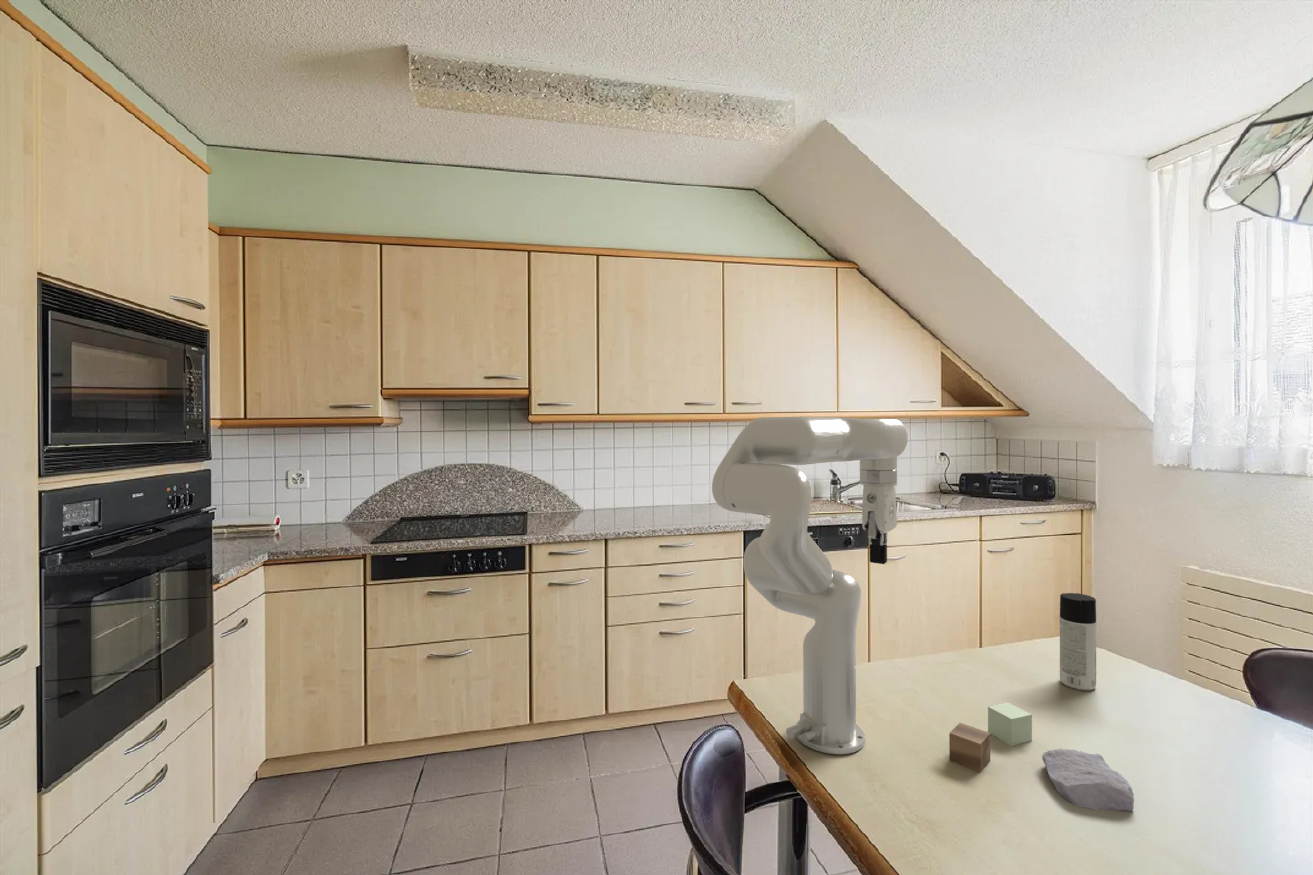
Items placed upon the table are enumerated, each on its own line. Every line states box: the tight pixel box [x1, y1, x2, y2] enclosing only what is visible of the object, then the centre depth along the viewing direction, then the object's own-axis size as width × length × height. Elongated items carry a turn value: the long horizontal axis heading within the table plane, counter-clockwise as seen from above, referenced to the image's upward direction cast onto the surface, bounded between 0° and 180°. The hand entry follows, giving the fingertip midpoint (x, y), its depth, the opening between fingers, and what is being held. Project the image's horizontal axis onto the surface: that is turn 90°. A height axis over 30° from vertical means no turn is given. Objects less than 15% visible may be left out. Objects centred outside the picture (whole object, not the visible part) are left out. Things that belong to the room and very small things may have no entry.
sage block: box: [987, 702, 1033, 747], centre depth 109 cm, size 5×5×5 cm
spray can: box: [1059, 592, 1097, 692], centre depth 130 cm, size 7×7×20 cm
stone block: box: [1041, 748, 1135, 812], centre depth 94 cm, size 12×5×10 cm
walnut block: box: [948, 722, 991, 773], centre depth 101 cm, size 5×5×5 cm
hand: (878, 562), depth 125 cm, fingers closed
